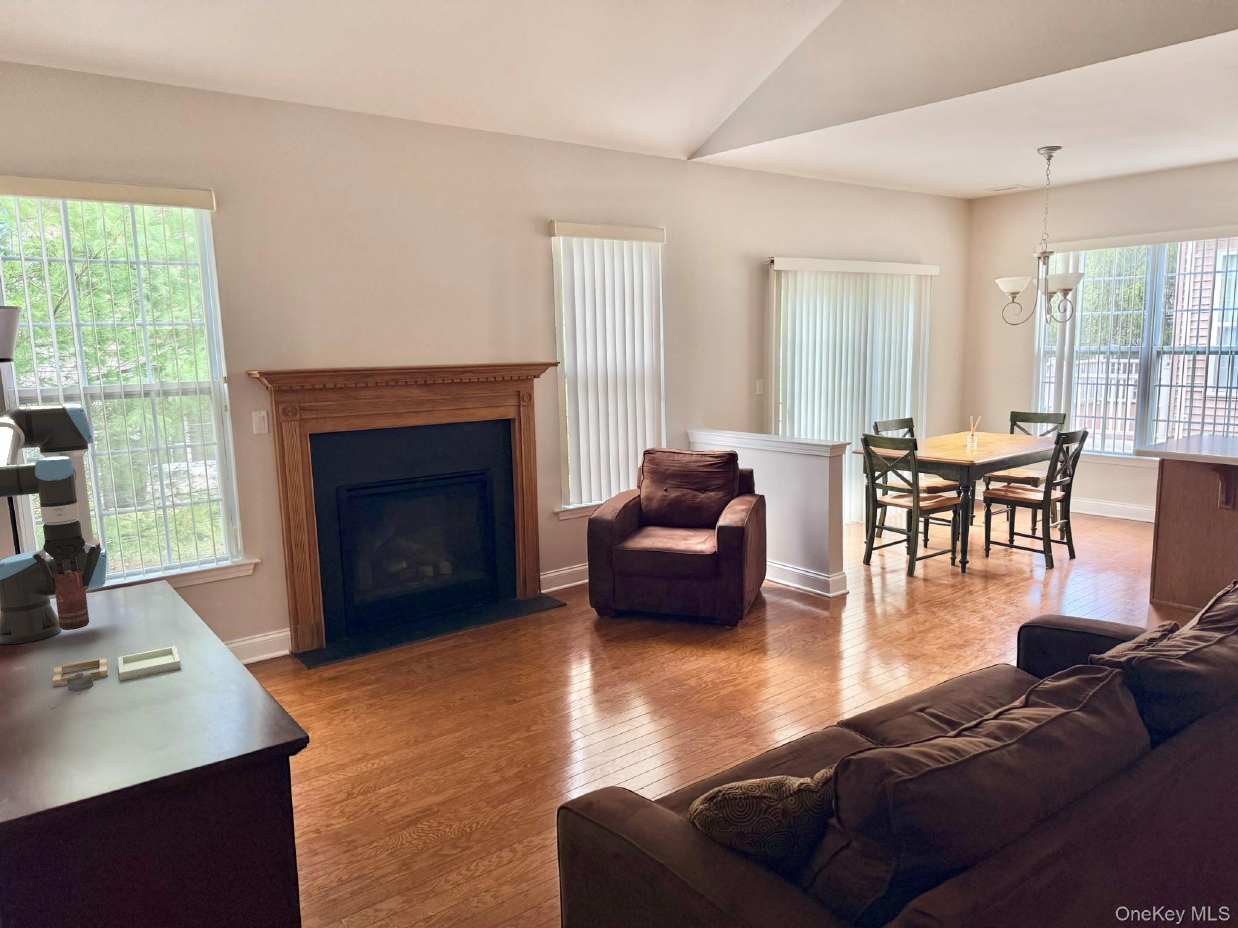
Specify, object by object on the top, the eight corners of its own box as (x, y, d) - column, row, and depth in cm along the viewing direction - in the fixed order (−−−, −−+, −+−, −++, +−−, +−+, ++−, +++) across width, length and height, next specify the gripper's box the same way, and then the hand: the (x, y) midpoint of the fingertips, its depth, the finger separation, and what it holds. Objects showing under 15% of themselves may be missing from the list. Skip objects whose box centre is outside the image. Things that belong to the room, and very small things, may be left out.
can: (76, 631, 201) (69, 574, 199) (53, 629, 203) (46, 573, 201) (96, 622, 207) (89, 567, 205) (74, 621, 208) (67, 566, 206)
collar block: (55, 672, 208) (53, 660, 208) (107, 662, 214) (105, 650, 213) (52, 696, 193) (50, 682, 193) (108, 684, 199) (106, 671, 198)
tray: (118, 664, 212) (117, 657, 212) (176, 653, 219) (175, 645, 218) (120, 680, 201) (119, 672, 201) (180, 668, 208) (179, 660, 207)
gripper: (26, 528, 194) (39, 625, 198) (94, 520, 201) (106, 614, 205) (28, 522, 201) (41, 617, 204) (94, 515, 208) (105, 606, 211)
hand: (73, 615), depth 205 cm, fingers closed
